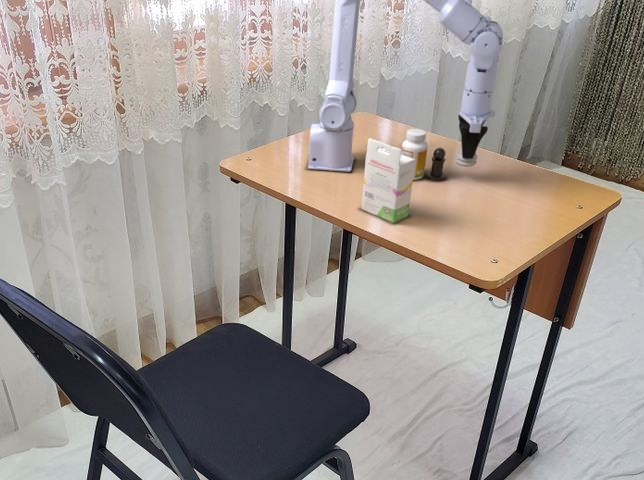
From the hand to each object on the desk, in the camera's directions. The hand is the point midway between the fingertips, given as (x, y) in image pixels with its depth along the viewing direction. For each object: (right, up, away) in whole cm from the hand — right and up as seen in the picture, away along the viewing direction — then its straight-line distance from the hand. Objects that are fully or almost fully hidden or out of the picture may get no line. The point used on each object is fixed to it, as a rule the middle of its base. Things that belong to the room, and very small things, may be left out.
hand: (467, 154), depth 154 cm
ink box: (-19, -14, -9) cm, 25 cm away
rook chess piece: (0, -2, +1) cm, 2 cm away
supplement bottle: (-11, -3, +5) cm, 12 cm away
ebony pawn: (-6, -4, +4) cm, 8 cm away
